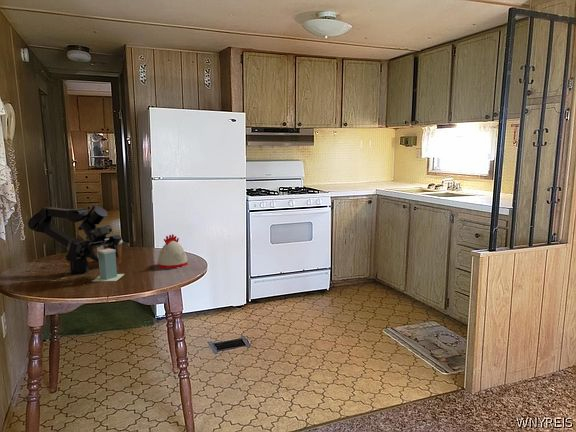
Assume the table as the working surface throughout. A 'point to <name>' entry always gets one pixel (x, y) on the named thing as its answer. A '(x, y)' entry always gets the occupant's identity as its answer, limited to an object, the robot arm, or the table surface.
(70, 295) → the table surface
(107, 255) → the tea tin
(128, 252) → the table surface
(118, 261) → the disposable coffee cup
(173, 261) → the kitchen timer
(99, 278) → the plate
